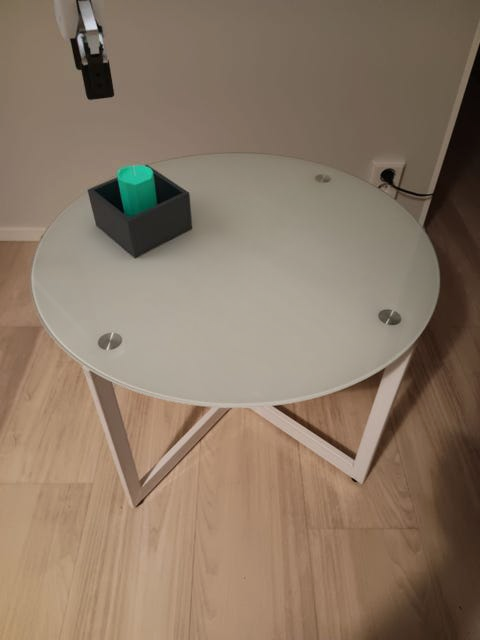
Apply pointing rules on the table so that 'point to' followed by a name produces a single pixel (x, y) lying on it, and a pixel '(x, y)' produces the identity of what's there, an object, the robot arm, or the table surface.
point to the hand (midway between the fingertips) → (94, 82)
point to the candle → (136, 189)
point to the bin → (142, 215)
